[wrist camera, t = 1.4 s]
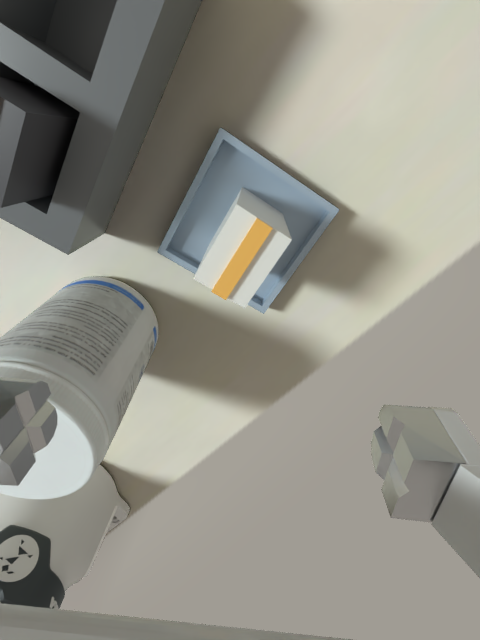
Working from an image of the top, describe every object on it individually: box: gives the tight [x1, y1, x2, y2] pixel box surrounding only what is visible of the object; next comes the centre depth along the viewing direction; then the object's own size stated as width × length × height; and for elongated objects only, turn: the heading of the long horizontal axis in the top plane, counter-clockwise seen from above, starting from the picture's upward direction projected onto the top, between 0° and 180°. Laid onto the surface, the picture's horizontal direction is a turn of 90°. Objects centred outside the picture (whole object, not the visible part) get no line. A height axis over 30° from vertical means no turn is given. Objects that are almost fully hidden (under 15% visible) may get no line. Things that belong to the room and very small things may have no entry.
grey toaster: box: [0, 0, 202, 255], centre depth 19 cm, size 18×9×10 cm, turn 149°
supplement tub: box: [0, 276, 159, 499], centre depth 25 cm, size 10×10×15 cm
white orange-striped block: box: [193, 187, 292, 308], centre depth 23 cm, size 5×4×8 cm
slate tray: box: [157, 127, 339, 314], centre depth 26 cm, size 10×10×2 cm
